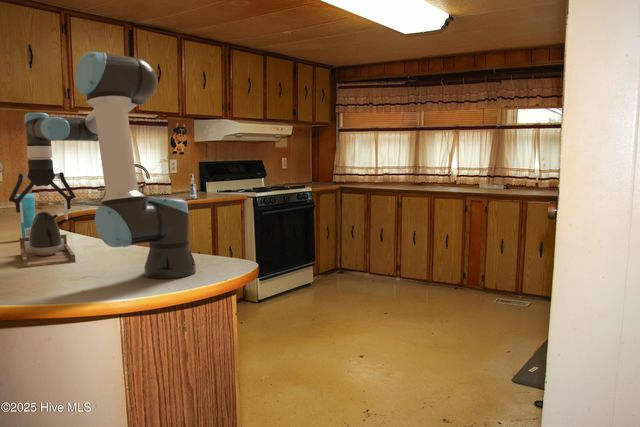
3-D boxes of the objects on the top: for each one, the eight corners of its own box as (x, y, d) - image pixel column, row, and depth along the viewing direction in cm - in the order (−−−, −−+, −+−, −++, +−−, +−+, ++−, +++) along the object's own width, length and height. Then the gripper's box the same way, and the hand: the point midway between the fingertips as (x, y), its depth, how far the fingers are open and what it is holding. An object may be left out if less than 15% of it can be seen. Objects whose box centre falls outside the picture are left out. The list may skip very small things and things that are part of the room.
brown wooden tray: (75, 262, 176) (74, 244, 175) (24, 267, 168) (22, 248, 167) (66, 250, 196) (66, 234, 195) (20, 254, 188) (19, 237, 187)
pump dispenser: (49, 258, 178) (46, 214, 175) (22, 256, 180) (19, 212, 177) (69, 251, 187) (66, 209, 185) (43, 249, 189) (41, 208, 187)
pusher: (64, 249, 191) (63, 238, 190) (25, 253, 184) (24, 242, 184) (62, 246, 198) (61, 235, 197) (24, 249, 191) (23, 238, 191)
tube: (33, 237, 222) (30, 192, 220) (41, 238, 220) (38, 193, 218) (16, 240, 216) (13, 194, 213) (24, 241, 214) (20, 194, 211)
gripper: (78, 158, 189) (82, 216, 191) (-3, 159, 176) (2, 222, 178) (81, 158, 182) (85, 218, 185) (-3, 159, 169) (2, 224, 172)
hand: (44, 220), depth 182 cm, fingers open, 13 cm apart
